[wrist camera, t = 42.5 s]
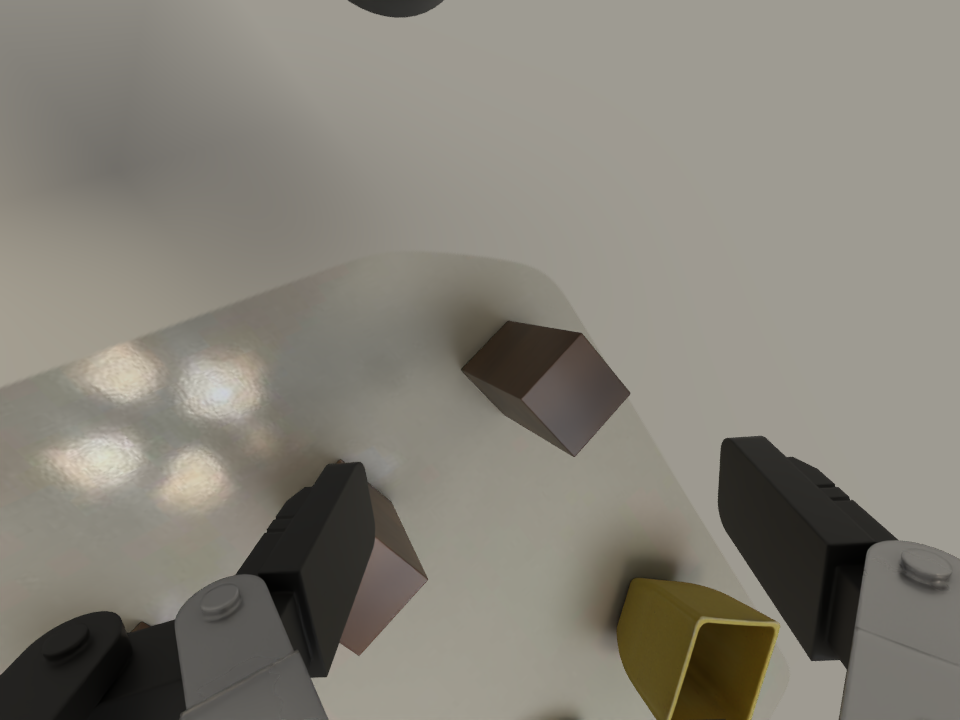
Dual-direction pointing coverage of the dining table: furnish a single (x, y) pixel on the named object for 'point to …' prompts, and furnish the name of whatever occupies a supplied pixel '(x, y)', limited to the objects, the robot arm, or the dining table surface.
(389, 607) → the walnut block middle
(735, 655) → the flower pot
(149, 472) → the dining table surface
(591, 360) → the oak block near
